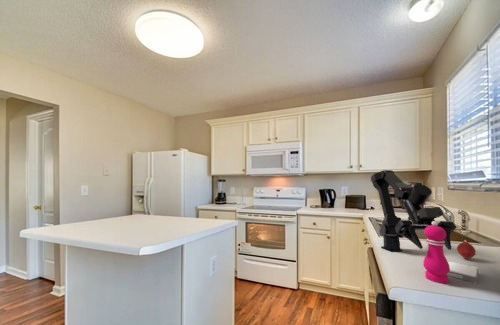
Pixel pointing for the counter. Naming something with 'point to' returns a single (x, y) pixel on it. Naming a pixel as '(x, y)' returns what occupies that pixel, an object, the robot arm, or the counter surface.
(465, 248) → the onion
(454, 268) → the kitchen scale
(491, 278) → the counter surface
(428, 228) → the pepper mill
